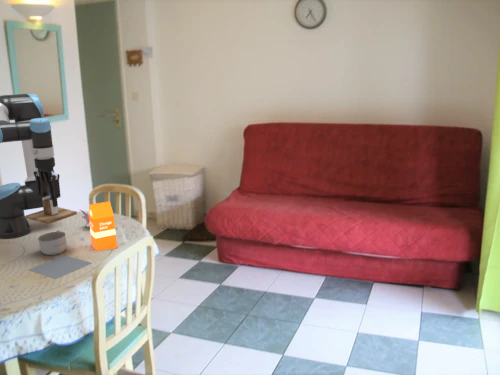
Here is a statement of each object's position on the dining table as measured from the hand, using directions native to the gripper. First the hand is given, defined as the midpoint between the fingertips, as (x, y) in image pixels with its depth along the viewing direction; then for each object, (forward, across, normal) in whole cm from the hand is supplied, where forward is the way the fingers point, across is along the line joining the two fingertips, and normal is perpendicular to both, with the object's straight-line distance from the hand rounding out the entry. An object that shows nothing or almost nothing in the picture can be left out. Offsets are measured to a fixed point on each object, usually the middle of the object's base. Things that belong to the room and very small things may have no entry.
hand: (51, 212), depth 207 cm
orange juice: (+18, +12, +15) cm, 27 cm away
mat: (+18, +14, -9) cm, 25 cm away
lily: (+19, -12, +29) cm, 36 cm away
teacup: (+18, -2, +1) cm, 18 cm away
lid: (+2, 0, 0) cm, 2 cm away
